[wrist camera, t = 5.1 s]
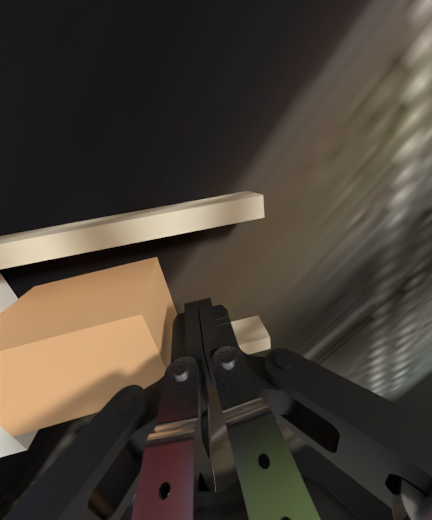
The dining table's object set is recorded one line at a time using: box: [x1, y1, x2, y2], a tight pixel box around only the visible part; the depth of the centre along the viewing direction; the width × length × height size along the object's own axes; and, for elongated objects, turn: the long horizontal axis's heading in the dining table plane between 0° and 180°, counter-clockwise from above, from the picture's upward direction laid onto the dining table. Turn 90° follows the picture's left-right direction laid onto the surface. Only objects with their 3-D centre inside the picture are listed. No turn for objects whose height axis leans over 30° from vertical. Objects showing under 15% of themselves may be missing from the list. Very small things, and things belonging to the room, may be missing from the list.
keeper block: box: [0, 257, 177, 437], centre depth 12 cm, size 8×5×6 cm, turn 101°
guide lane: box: [0, 191, 271, 354], centre depth 13 cm, size 16×11×2 cm
